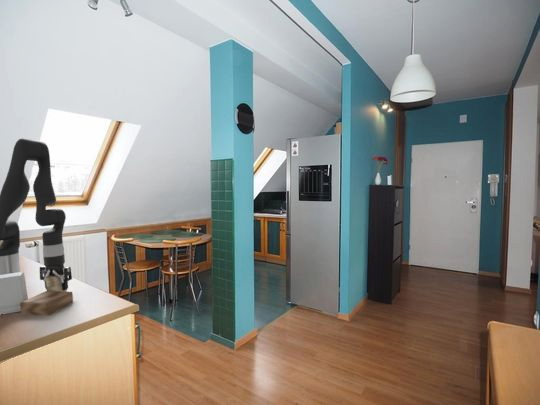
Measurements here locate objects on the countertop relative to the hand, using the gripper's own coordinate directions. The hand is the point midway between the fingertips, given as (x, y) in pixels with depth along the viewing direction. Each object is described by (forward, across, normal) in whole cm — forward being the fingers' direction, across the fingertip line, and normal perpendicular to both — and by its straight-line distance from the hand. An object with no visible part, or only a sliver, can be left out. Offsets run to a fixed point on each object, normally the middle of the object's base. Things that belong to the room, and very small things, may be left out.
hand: (56, 289), depth 132 cm
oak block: (+3, 0, 0) cm, 3 cm away
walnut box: (+4, +7, -11) cm, 14 cm away
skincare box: (+3, -5, -15) cm, 16 cm away
